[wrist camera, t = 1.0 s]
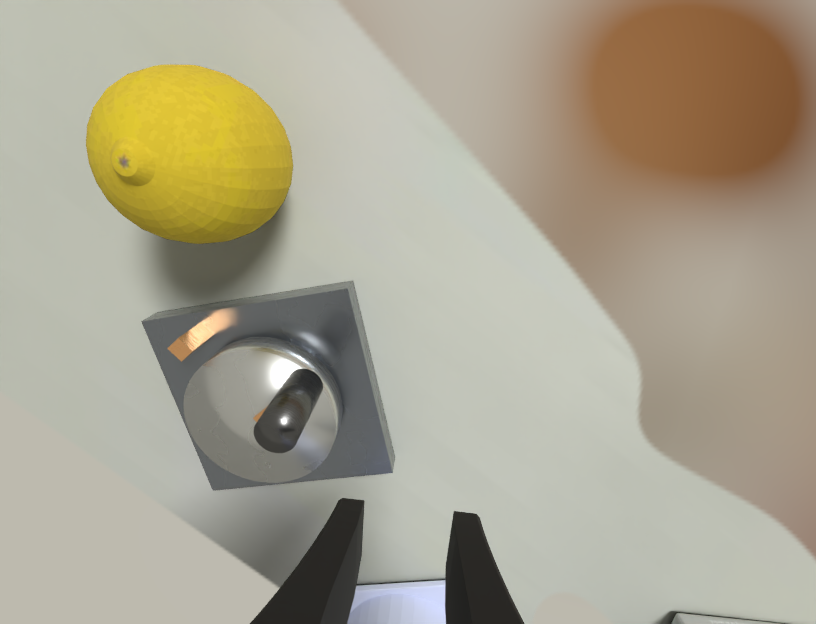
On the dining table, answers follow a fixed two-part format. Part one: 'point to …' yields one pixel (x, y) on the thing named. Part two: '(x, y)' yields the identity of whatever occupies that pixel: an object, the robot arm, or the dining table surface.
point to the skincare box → (711, 620)
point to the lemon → (189, 153)
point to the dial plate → (311, 330)
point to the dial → (264, 409)
